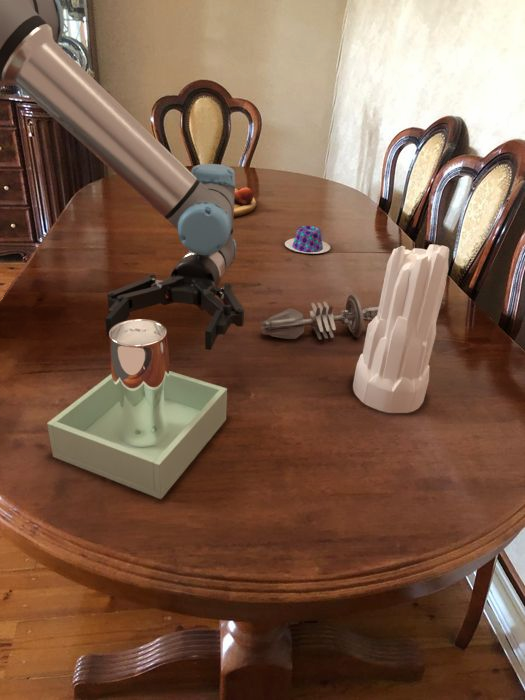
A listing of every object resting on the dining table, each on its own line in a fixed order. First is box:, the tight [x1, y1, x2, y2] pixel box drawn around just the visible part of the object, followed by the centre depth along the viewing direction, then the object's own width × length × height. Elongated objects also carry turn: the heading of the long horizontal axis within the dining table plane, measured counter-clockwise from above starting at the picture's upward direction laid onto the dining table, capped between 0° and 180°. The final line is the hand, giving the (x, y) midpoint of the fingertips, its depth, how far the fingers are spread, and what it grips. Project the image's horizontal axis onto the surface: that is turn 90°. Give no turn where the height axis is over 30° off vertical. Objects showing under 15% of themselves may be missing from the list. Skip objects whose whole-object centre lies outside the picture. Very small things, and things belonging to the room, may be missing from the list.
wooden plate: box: [233, 186, 257, 218], centre depth 165 cm, size 32×32×8 cm
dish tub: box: [46, 370, 228, 500], centre depth 68 cm, size 16×17×6 cm
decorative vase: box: [352, 243, 450, 414], centre depth 75 cm, size 11×11×25 cm
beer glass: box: [108, 318, 170, 447], centre depth 65 cm, size 7×7×15 cm
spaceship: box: [260, 293, 447, 340], centre depth 96 cm, size 8×35×8 cm
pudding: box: [284, 225, 331, 255], centre depth 136 cm, size 12×12×5 cm
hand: (157, 334), depth 69 cm, fingers open, 13 cm apart
